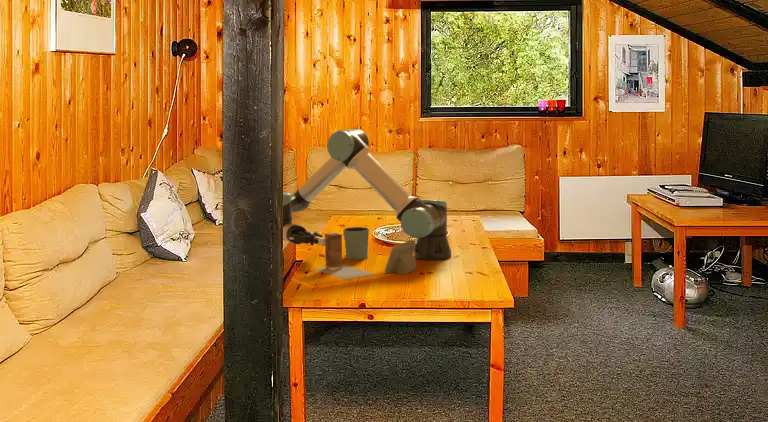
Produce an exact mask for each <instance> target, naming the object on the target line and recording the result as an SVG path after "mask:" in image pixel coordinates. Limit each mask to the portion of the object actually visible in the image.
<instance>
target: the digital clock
mask: <svg viewBox="0 0 768 422" xmlns="http://www.w3.org/2000/svg"><path fill="white" fill-rule="evenodd" d="M416 242H417V241H415V240H413V239H412V240H408V241H406V242H402V243H399V244H397V245H393V246H392V247H391V249H390V253H389V256H388V259H387V262H386V265H385V268H384V272H385V274H393V273H396V274H398V275H407V274H408V273H411V272H413V271H416V269H417V258H415V257H414V248H415V245H416Z"/></svg>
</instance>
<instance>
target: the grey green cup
mask: <svg viewBox="0 0 768 422" xmlns="http://www.w3.org/2000/svg"><path fill="white" fill-rule="evenodd" d="M342 232H343V238H344V249H345V258H346V259H347V260H350V261H351V260H353V261H359V260H361V261H362V260H366V259H368V257H369V254H368V253H369V252H368V251H369V248H368V247H369V235H370V233H369V232H370V228H368V227H366V226H364V227H363V226H351V227H346V228H343V231H342Z"/></svg>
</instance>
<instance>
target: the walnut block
mask: <svg viewBox="0 0 768 422" xmlns="http://www.w3.org/2000/svg"><path fill="white" fill-rule="evenodd" d="M342 237H343V236H342V234H341V233H337V232H332V233H324V238H325V246H324V247H325V248H324V249H325V267H326V268H327V269H330V270H337V269H342V264H343V241H342V239H343V238H342Z"/></svg>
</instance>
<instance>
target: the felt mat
mask: <svg viewBox="0 0 768 422" xmlns="http://www.w3.org/2000/svg"><path fill="white" fill-rule="evenodd" d="M314 270H316V271H319V272H321V273H324V274H328V275H330V276H333V277H336V278H339V279H342V280H349V279H357V278H363V277H368V276H373V275H375V276H376V274H375V273H372V272H369V271H366V270H362V269H360V268H356V267H354V266H351V265H347V264H343V263H342V269H337V270H330V269H327V268H326V266H322V267H317V268H314Z"/></svg>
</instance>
